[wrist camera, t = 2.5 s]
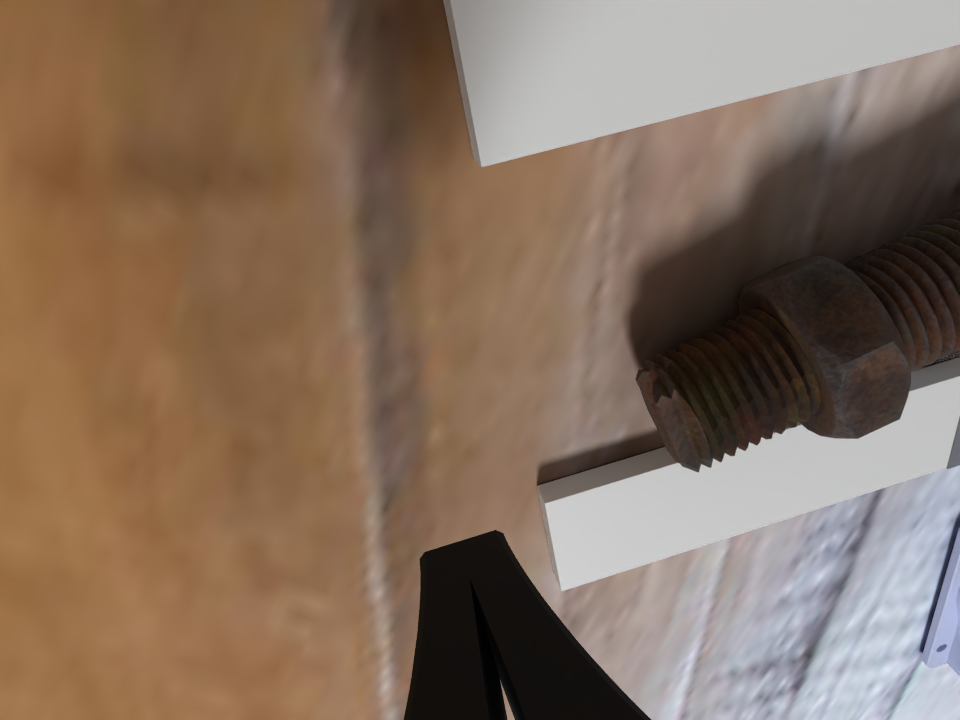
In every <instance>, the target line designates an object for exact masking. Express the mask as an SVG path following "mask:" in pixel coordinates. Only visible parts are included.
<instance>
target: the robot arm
mask: <svg viewBox="0 0 960 720" xmlns="http://www.w3.org/2000/svg"><path fill="white" fill-rule="evenodd" d="M420 570H421V592H420V610H419V621H418V633H417V640H416V648H415V656H414V663H413V671H412V678H411V684H410V690H409V695H408V701H407V706H406V711H405V716H404V720H507V715H506V710H505V704H504V699H503V693H502V688H501V683H502V686H503V688H504V691H505V694H506V696H507V699H508V702H509V705H510V707H511V710H512V713H513V715H514V718H515V720H651V719H650V718H649V717H648V716H647V715H646V714H645V713H644V712H643V711H642V710H641V709H640V708H639V707H638V706H637V705H636V704H635V703H634V702H633V701H632V700H631V699H630V698H629V697H628V696H627V695H626V694H625V693H624V692H623V691H622V690H621V689H620V688H619V687H618V686H617V685H616V683H615V682H614V681H613V680H612V679H611V678H610V677H609V676H608V675H607V674H606V673H605V672H604V670H603V669H602V668H601V667H600V666H599V665H598V664H597V663H596V662H595V661H594V659H593V658H592V657H591V656H590V655H589V654H588V653H587V652H586V650H585V649H584V648H583V647H582V646H581V645H580V643H579V642H578V641H577V640H576V639H575V638H574V636H573V635H572V634H571V633H570V631H569V630H568V629H567V628H566V626H565V625H564V624H563V623H562V621H561V620H560V619H559V618H558V616H557V615H556V614H555V613H554V611H553V610H552V609H551V608H550V606H549V605H548V604H547V602H546V601H545V600H544V598H543V597H542V596H541V594H540V593H539V592H538V590H537V589H536V587H535V586H534V585H533V583H532V582H531V580H530V579H529V577H528V576H527V575H526V573H525V571H524V570H523V568H522V567H521V565H520V564H519V562H518V560H517V559H516V557H515V555H514V554H513V552H512V550H511V548H510V546H509V545H508V543H507V541H506V539H505V536H504V534H503V533H501V532H499V531H497V530H494V531H491V532H488V533H485V534H481V535H478V536H475V537H472V538H469V539H465V540H462V541H459V542H456V543H452V544H449V545H446V546H443V547H440V548H436V549H433V550H430V551H427V552H425V553H424V554H423V555H422V557H421V558H420ZM922 661H923V662H924V663H925V664H926V665H927V666H928V667H930V668H934V667H937V666H940V665H943V664H946V663H948V664H949V665H950V667H951V668H952V669H953V670H954V671H955V672H956V673H957V674H958V675H959V676H960V527H959V530H958V533H957V537H956V540H955V544H954V547H953V551H952V554H951V557H950V561H949V564H948V568H947V571H946V575H945V578H944V582H943V585H942V589H941V592H940V596H939V599H938V602H937V606H936V609H935V613H934V616H933V620H932V623H931V627H930V630H929V634H928V637H927V641H926V644H925V647H924V651H923V654H922ZM500 680H501V683H500Z"/></svg>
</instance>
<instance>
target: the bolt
mask: <svg viewBox="0 0 960 720" xmlns="http://www.w3.org/2000/svg"><path fill="white" fill-rule="evenodd" d="M738 309H739V313H740V315H739V316H738V317H737V318H736V319H735V321H733V320H730V321H726V323H725V324H724V325H723V327H721V326H717V327H714V328H713V330H712V332H704V333H703V334H701V337H700V338H695V337H693V338H692V339H691V340H690V343H689V345H687V344H683V343H681V344H680V345H679V346H678V351H674V350H671V349H669V350H668V351H667V352H666V357H665V356H663V355H661V354H657V355H656V360H655V363H654V362H652V361H649V360H645V369H643V370H639V371H638V374H637V377H636V381H637V383H638V385H639V387H640V390H641V393H642V396H643V399H644V401H645V404H646V406H647V409H648V411H649V413H650V415H651V417H652V419H653V421H654V423H655V425H656V427H657V429H658V431H659V433H660V435H661V438H662V440H663V442H664V445H665V447H666V449H667V451H668V453H669V454H670V455H671V457H672V458H673V460H674V461H675V462H677V463H680V464H681V466H682V467H685V468H688V469H690V470H693V471H695V472H699V470H700V466H701V464H702V465H704V466H707V467H709V468H711V467H712V462H713V459H715V460H717V461H719V462H722V460H723V457H724V454H725V453H726V454H728V455H729V456H735V453H736V450H737V448H739V449H741V450H743V451H746V449H747V448H748V445H749V442H750V443H752V444H754V445H758V444H759V443H760V441H761V437H762V438H764V439H766V440H767V439H772V436H773V432H776V433H779V434H782V433H783V432H784V431H785V430H786V426H787V427H789V428H795V427H797V423H798V422H799V423H800V424H801V425H803V426H804V427H805V428H806V429H807V430H809V431H811V432H813V433H815V434H817V435H819V436H823V437H829V438H835V439H859V438H861V437H863V436H865V435H867V434H869V433H871V432H874V431H876V430H878V429H880V428H882V427H884V426H886V425H888V424H891V423H893V422H895V421H897V420H899V419H900V418H901V415H902V412H903V409H904V407H905V404H906V401H907V398H908V394H909V390H910V386H911V372H912V371H917V370H920V369H921V368H922V367H924V365H930V364H932V363H933V362H935V361H937V359H943V358H944V357H946V356H947V355H949V354H950V353H956V352H957V351H959V350H960V209H957V210H955V211H953V212H952V213H949V214H946V215H944V216H942V217H940V218H939V219H937V220H934V221H932V222H930V223H928V224H926V225H925V226H921V227H919V228H918V229H916V230H915V231H913V232H909V233H907V234H905V235H903V236H901V238H899V239H896V240H893V241H891V242H889V243H888V244H884V245H882V246H881V247H880V248H878V249H875V250H873V251H870V252H868V253H866V254H865V255H863V256H860V257H857V258H856V259H854V260H853V261H850V262H847V263H845V264H841V263H839V262H837V261H835V260H833V259H831V258H827V257H824V256H821V255H820V256H811V257H807V258H803V259H799V260H796V261H793V262H790V263H787V264H784V265H782V266H780V267H778V268H776V269H774V270H772V271H770V272H768V273H766V274H764V275H762V276H760V277H758V278H756V279H754V280H752V281H750V282H748V283H746V284H744V286H743V288H742V291H741V294H740V297H739V300H738Z"/></svg>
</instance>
